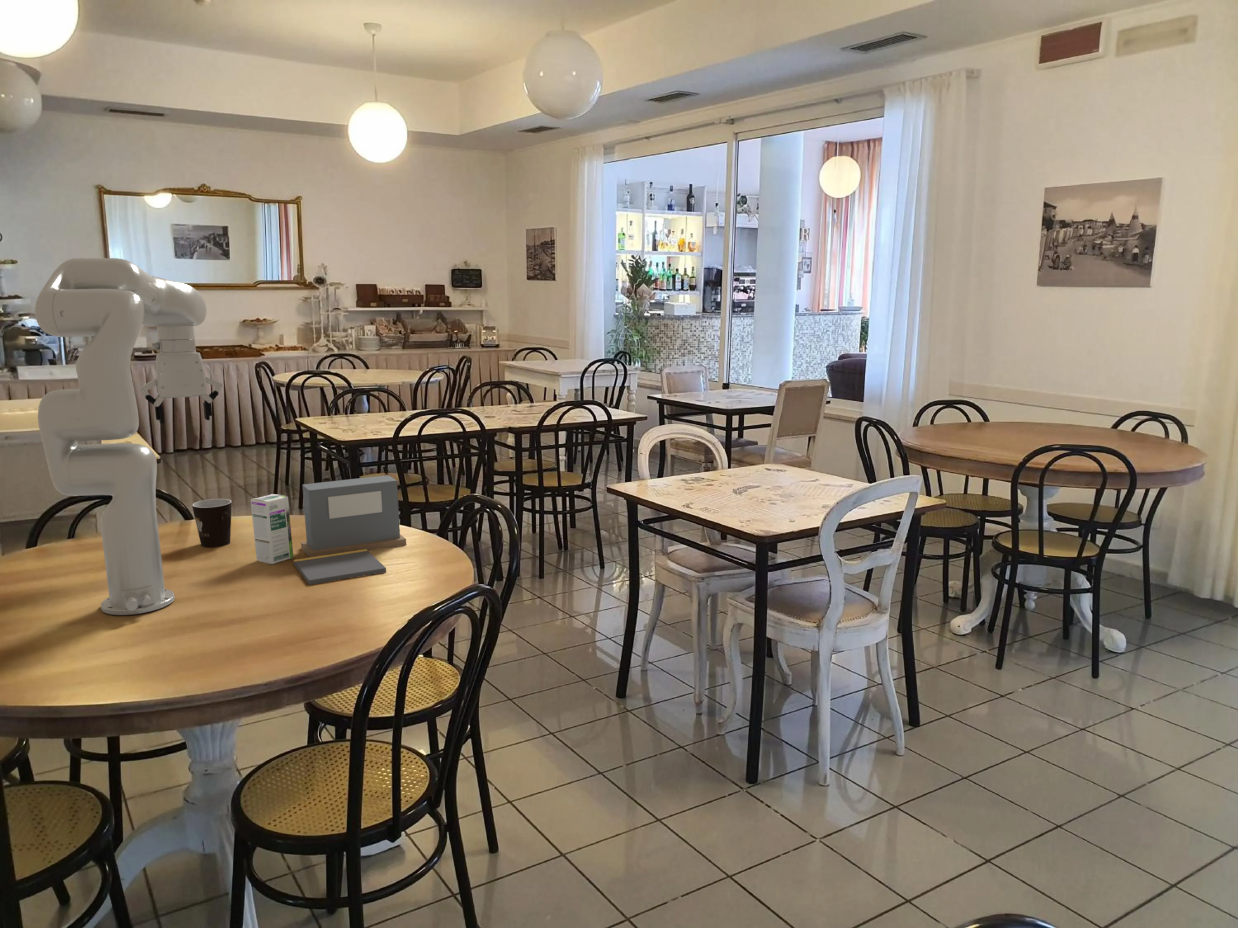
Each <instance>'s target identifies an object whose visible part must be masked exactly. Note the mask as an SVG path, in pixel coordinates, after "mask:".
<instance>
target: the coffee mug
mask: <svg viewBox="0 0 1238 928" xmlns="http://www.w3.org/2000/svg"><path fill="white" fill-rule="evenodd" d="M232 502H233V501H232V500H231V499H229V498H212V499H204V500H199V501H196V502H193V503H192V512H193V515H194V520H195V521H194V522H195V523H196V524H195V525H196V528H197V532H198V533H197V534H198V537H199V540H200V546H201V547H203V548H213V549H214V548H220V547H224V546H227V545H229V544H230V543H231V531H232V505H233V504H232Z"/></svg>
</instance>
